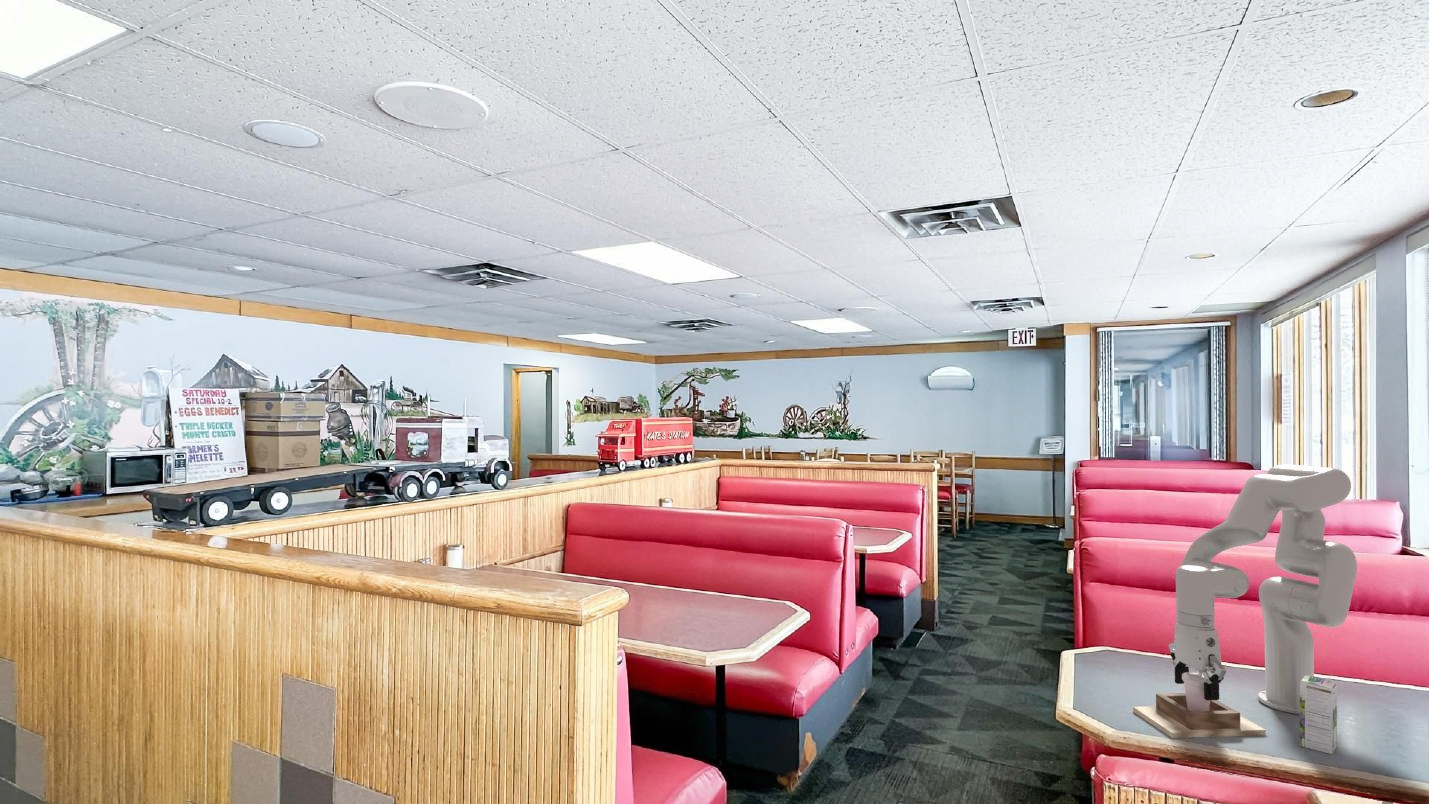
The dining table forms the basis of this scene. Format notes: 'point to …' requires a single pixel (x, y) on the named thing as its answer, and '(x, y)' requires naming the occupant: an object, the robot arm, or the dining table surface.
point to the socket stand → (1196, 719)
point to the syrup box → (1318, 714)
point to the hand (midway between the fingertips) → (1196, 691)
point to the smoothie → (1195, 691)
